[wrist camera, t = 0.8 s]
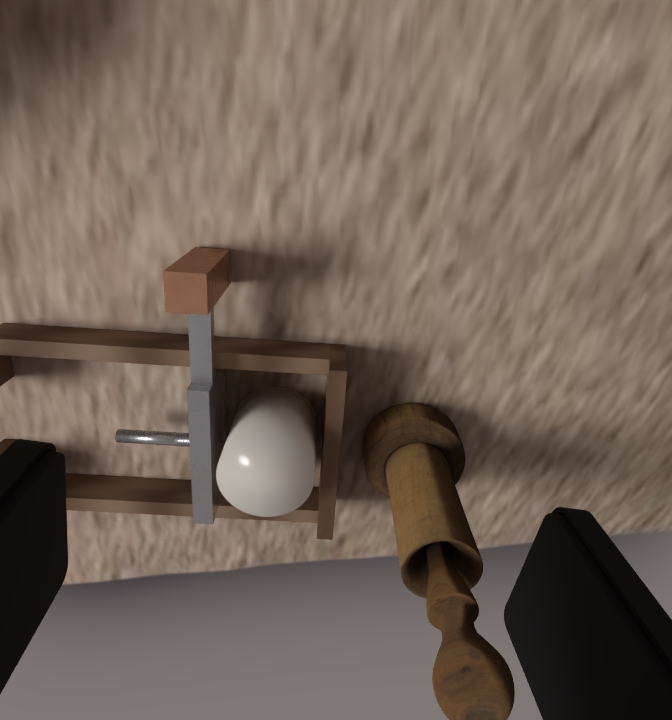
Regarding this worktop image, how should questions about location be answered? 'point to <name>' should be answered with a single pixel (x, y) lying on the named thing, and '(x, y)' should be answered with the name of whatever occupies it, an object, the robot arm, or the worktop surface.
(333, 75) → the worktop surface
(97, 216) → the worktop surface
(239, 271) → the worktop surface
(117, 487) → the lane
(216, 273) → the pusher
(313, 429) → the white marshmallow
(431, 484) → the mortar and pestle
